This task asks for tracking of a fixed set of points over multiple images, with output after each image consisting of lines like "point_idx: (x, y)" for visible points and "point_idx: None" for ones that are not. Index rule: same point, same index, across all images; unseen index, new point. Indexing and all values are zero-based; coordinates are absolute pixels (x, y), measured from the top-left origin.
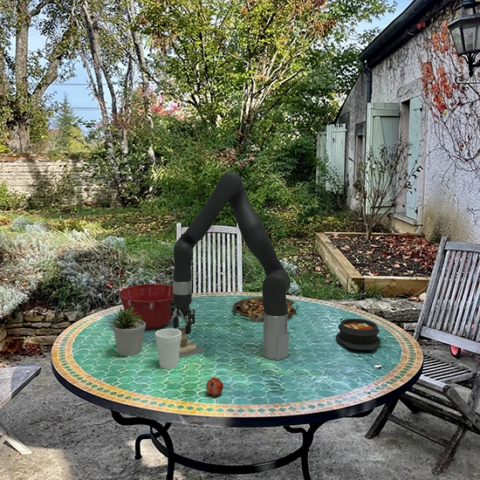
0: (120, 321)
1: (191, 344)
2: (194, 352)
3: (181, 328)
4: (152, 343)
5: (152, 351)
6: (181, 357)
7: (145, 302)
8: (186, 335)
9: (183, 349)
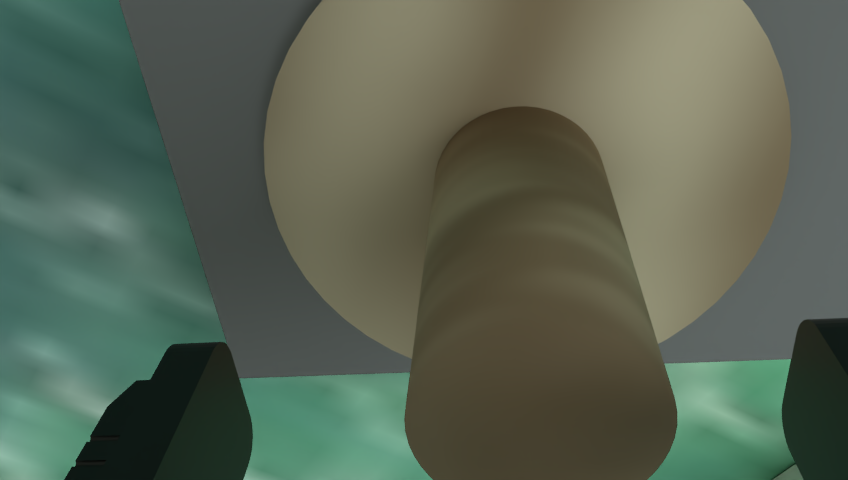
0: None
1: (570, 5)
2: (838, 93)
3: (483, 421)
4: (55, 349)
5: (326, 451)
6: None
7: None
8: (626, 259)
9: (677, 247)
